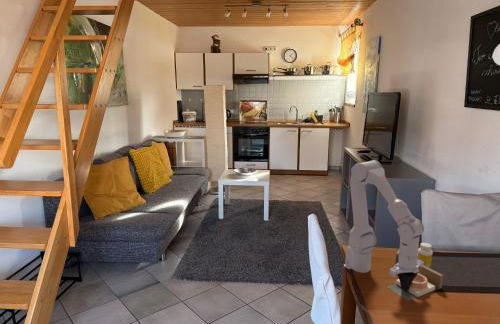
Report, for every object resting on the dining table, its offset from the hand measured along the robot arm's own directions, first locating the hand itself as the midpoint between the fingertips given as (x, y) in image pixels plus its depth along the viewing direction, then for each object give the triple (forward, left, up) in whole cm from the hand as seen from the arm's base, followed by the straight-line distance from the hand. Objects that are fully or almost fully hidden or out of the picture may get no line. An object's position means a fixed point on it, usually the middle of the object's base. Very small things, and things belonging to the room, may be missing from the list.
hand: (404, 289), depth 118 cm
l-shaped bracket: (0, +5, -2) cm, 5 cm away
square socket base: (0, +5, -1) cm, 5 cm away
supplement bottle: (-9, +22, -2) cm, 23 cm away
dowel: (-11, +11, -2) cm, 15 cm away
